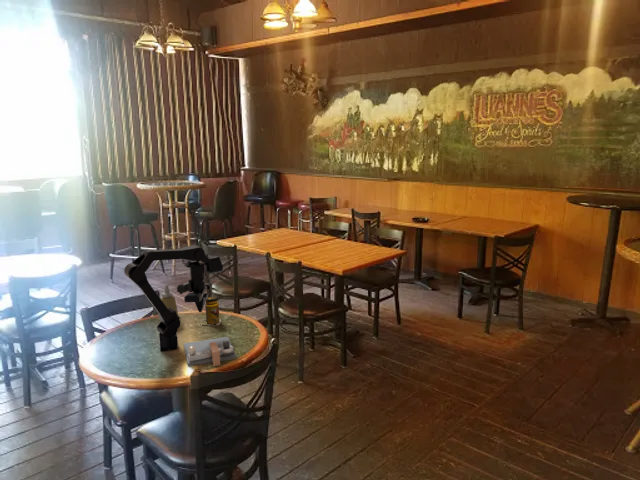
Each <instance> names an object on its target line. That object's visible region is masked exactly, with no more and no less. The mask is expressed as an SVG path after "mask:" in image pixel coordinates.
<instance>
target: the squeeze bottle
mask: <svg viewBox="0 0 640 480" xmlns="http://www.w3.org/2000/svg"><path fill="white" fill-rule="evenodd" d="M160 299H161V300H162V302H163V303H164V304H165V306H166V307H167V308H168V309H169V308H170V307H171V308H172V309H174V310H175V311H176V313H177V315H178V316H179V312H178V306H177V301H176V297H175V296H173V291H170V288H169V284H165V286H164V291H163V292H162V293H161V297H160Z"/></svg>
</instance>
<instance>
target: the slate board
mask: <svg viewBox="0 0 640 480" xmlns="http://www.w3.org/2000/svg"><path fill="white" fill-rule="evenodd" d="M224 341H229V345H230V346H233V345H232V343H231V341H230V339H229V337H228V336H224V337H223V336H222V337H217V338H210V339H204V340H197V341H192V342H191V341H190V342H184V343H183V348H184V353H185V354H184V355H185V357H186V364H187V367H193V366H199V365H205V364H211V363H213V358H212V357H210V358H205V359H200V360H195V361H190V362H189V360H188V354H189V350H188V347H189V346H195V348H196V352H202V351H207V350H211V348H210V344H209V343H212V342H216V343H217V346H218V348H221V347H222V346H223V342H224ZM233 359H234V360H235V359H237V355H236V353H235V351H234V353H232V354H230V355H220V362H223V361H228V360H230V361H231V360H233Z"/></svg>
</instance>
